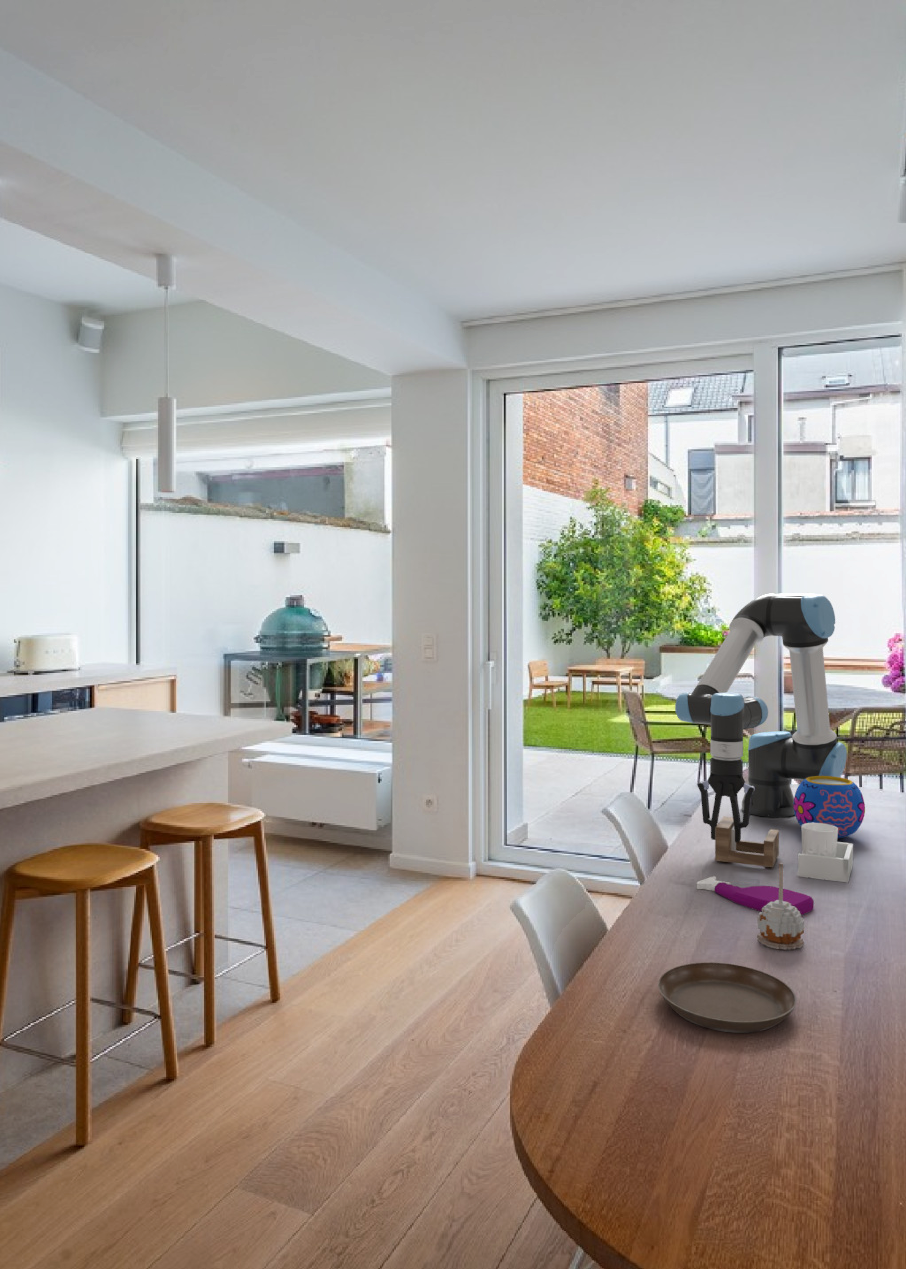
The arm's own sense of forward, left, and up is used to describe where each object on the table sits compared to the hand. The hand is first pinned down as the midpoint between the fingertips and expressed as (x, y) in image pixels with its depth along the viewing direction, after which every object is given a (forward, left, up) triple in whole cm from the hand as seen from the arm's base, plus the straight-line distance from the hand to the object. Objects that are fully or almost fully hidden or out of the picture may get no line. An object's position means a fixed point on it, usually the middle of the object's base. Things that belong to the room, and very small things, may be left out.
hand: (725, 853), depth 227 cm
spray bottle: (+28, +10, -2) cm, 30 cm away
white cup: (0, +21, -1) cm, 21 cm away
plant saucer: (+83, +15, -2) cm, 84 cm away
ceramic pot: (-31, +20, -1) cm, 38 cm away
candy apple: (+52, +19, -1) cm, 55 cm away
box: (0, +23, -1) cm, 23 cm away
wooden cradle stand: (0, +5, 0) cm, 5 cm away
